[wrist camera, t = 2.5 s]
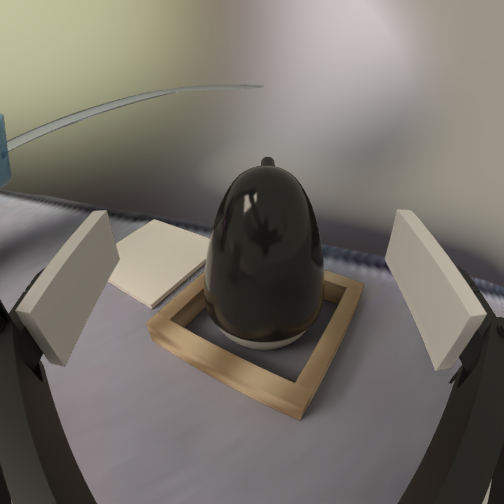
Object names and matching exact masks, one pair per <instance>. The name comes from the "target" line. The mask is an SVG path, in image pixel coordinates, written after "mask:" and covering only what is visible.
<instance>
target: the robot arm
mask: <svg viewBox="0 0 504 504" xmlns="http://www.w3.org/2000/svg"><path fill="white" fill-rule="evenodd" d="M10 179H11V170H10V163H9V156H8V149H7V141H6V132H5V123H4V116H3V115H2V114H0V188H2V187H4V186H6V185H7V184H8V183H9V181H10ZM119 260H120V257H119V254H118V250H117V247H116V244H115V240H114V236H113V233H112V229H111V225H110V221H109V218H108V214H107V210H103V211H93V212H92V213H91V214H90V215H89V216H88V217H87V218H86V220H85V221H84V222H83V223H82V224H81V225H80V226H79V228H78V229H77V230H76V231H75V232H74V233H73V235H72V236H71V237H70V238H69V239H68V241H67V242H66V243H65V244H64V245H63V247H62V248H61V249H60V250H59V252H58V253H57V254H56V255H55V257H54V258H53V259H52V260H51V262H50V263H49V264H48V265H47V267H45V268H44V269H43V270H41V271H40V272H39V273H38V274H37V275H36V276H35V277H34V279H33V280H32V281H31V283H30V285H28V287H27V288H26V290H25V292H23V294H22V295H21V297H20V298H19V299H18V301H17V302H16V304H15V305H14V307H13V308H12V310H11V311H10V313H9V314H8V312H7V310H6V309H5V307H4V305H3V304H2V302H1V300H0V504H11V499H12V502H13V504H97V503H96V501H95V499H94V497H93V496H92V494H91V492H90V490H89V488H88V486H87V484H86V482H85V480H84V478H83V476H82V473H81V471H80V469H79V467H78V465H77V463H76V460H75V458H74V456H73V453H72V451H71V448H70V446H69V444H68V441H67V438H66V436H65V433H64V431H63V428H62V425H61V422H60V419H59V416H58V414H57V411H56V407H55V404H54V401H53V398H52V395H51V391H50V388H49V384H48V380H47V377H46V373H45V369H44V366H43V364H42V362H41V361H40V359H41V357H42V355H43V354H44V355H45V357H46V358H47V359H48V361H49V362H50V363H52V364H56V365H60V366H66V364H67V362H68V359H69V357H70V355H71V353H72V350H73V348H74V346H75V344H76V342H77V340H78V338H79V336H80V334H81V331H82V329H83V327H84V325H85V323H86V321H87V319H88V317H89V315H90V313H91V311H92V309H93V308H94V306H95V304H96V302H97V300H98V298H99V296H100V294H101V292H102V291H103V289H104V287H105V285H106V283H107V281H108V280H109V278H110V276H111V274H112V272H113V271H114V269H115V267H116V265H117V264H118V262H119ZM385 261H386V263H387V265H388V267H389V269H390V271H391V273H392V275H393V277H394V279H395V281H396V283H397V285H398V287H399V289H400V291H401V293H402V295H403V297H404V299H405V301H406V303H407V305H408V307H409V310H410V312H411V314H412V316H413V318H414V321H415V323H416V325H417V327H418V330H419V332H420V334H421V337H422V339H423V341H424V344H425V346H426V349H427V351H428V353H429V356H430V358H431V361H432V364H433V366H434V369H435V371H438V370H443V369H448V368H452V367H453V365H454V364H455V362H456V361H457V360H458V358H460V360H461V362H462V366H461V367H460V368H459V370H458V371H457V372H456V374H455V375H454V376H453V377H452V379H451V380H450V382H449V383H451V384H452V382H453V381H454V380H455V382H454V385H453V388H452V391H451V394H450V397H449V400H448V402H447V405H446V408H445V410H444V413H443V415H442V418H441V420H440V423H439V425H438V427H437V430H436V432H435V434H434V436H433V439H432V441H431V443H430V445H429V447H428V449H427V451H426V454H425V456H424V458H423V460H422V462H421V464H420V465H419V467H418V469H417V471H416V473H415V475H414V477H413V478H412V480H411V482H410V484H409V486H408V487H407V489H406V491H405V492H404V494H403V496H402V497H401V499H400V501H399V502H398V504H482V502H483V500H484V498H485V495H486V492H487V490H488V487H489V485H490V482H491V479H492V483H491V488H490V494H489V499H488V503H487V504H504V318H502V317H496V316H495V314H494V312H493V311H492V309H491V308H490V306H489V304H488V303H487V301H486V300H485V298H484V297H483V295H482V294H481V293H480V292H479V289H478V288H477V286H475V283H474V282H473V281H472V279H471V278H470V276H469V275H468V274H467V273H466V272H465V271H463V270H462V269H461V268H459V267H455V265H454V264H453V262H452V261H451V260H450V258H449V257H448V256H447V254H446V253H445V251H444V250H443V249H442V248H441V246H440V245H439V244H438V242H437V241H436V240H435V238H434V237H433V236H432V235H431V233H430V232H429V231H428V230H427V229H426V227H425V226H424V225H423V223H422V222H421V221H420V220H419V219H418V217H417V216H416V215H415V214H414V213H413V212H412V210H399V209H397V212H396V217H395V221H394V225H393V230H392V234H391V238H390V242H389V245H388V250H387V253H386V257H385ZM10 497H11V498H10Z"/></svg>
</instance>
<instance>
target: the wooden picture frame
mask: <svg viewBox="0 0 504 504" xmlns="http://www.w3.org/2000/svg"><path fill="white" fill-rule="evenodd" d="M204 276H205V271H204V272H203V273H202V274H201V275H200V276H199V277H197V278H196V279H195V280H194V281H193V282H192V283H191V284H189V285H188V286H187V287H186V288H185V289H184V290H183V291H181V292H180V293H179V294H178V295H177V296H176V297H175V298H174V299H172V300H171V301H170V302H169V303H168V304H167V305H166V306H165V307H163V308H162V309H161V310H160V311H159V312H158V313H157V314H156V315H154V316H153V317H152V318H151V319H150V320H149V321H148V322H147V323H146V324H147V327H148V330H149V332H150V335H151V338H152V340H153V341H154V342H156V343H157V344H159V345H160V346H162V347H163V348H165V349H166V350H168V351H170V352H171V353H173V354H174V355H176V356H178V357H179V358H181V359H183V360H184V361H186V362H188V363H189V364H191V365H193V366H194V367H196V368H198V369H199V370H201V371H203V372H205V373H206V374H208V375H210V376H212V377H213V378H215V379H217V380H219V381H221V382H222V383H224V384H226V385H228V386H230V387H232V388H234V389H235V390H237V391H239V392H241V393H243V394H245V395H247V396H249V397H251V398H253V399H255V400H257V401H259V402H261V403H263V404H265V405H267V406H269V407H271V408H273V409H275V410H278V411H280V412H282V413H284V414H286V415H288V416H291V417H293V418H295V419H297V420H301V418H302V416H303V415H304V413H305V411H306V409H307V407H308V406H309V404H310V402H311V400H312V398H313V397H314V395H315V393H316V391H317V389H318V387H319V386H320V384H321V382H322V380H323V378H324V376H325V374H326V372H327V370H328V368H329V366H330V364H331V362H332V360H333V358H334V356H335V354H336V352H337V350H338V348H339V346H340V344H341V342H342V339H343V337H344V335H345V333H346V331H347V329H348V327H349V324H350V322H351V320H352V318H353V315H354V313H355V311H356V308H357V306H358V304H359V301H360V298H361V295H362V292H363V288H364V285H365V284H364V283H361V282H358V281H356V280H353V279H350V278H347V277H344V276H341V275H338V274H335V273H332V272H329V271H326V270H324V299H325V300H328V301H331V302H333V303H336V304H339V305H338V307H337V309H336V311H335V312H334V314H333V316H332V318H331V320H330V322H329V324H328V326H327V328H326V330H325V331H324V333H323V335H322V337H321V339H320V341H319V342H318V344H317V346H316V348H315V349H314V351H313V353H312V355H311V357H310V358H309V360H308V362H307V363H306V365H305V367H304V369H303V370H302V372H301V374H300V375H299V377H298V379H297V380H296V382H295V383H293V382H291V381H289V380H287V379H284V378H282V377H280V376H278V375H275V374H273V373H271V372H269V371H267V370H265V369H263V368H260V367H258V366H256V365H254V364H252V363H250V362H248V361H246V360H244V359H242V358H240V357H238V356H236V355H234V354H232V353H230V352H228V351H226V350H224V349H222V348H220V347H218V346H216V345H214V344H212V343H210V342H209V341H207V340H205V339H203V338H201V337H199V336H197V335H196V334H194V333H192V332H190V331H188V330H186V329H185V327H186V326H187V325H188V324H189V323H190V322H191V321H192V320H193V319H194V318H195V317H196V316H197V315H198V314H199V313H200V312H201V311H202V310H203V309H204V308H205V307H206V305H205V298H204Z"/></svg>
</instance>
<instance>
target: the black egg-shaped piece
mask: <svg viewBox="0 0 504 504" xmlns="http://www.w3.org/2000/svg"><path fill="white" fill-rule="evenodd" d="M204 298H205V305H206V309H207V312H208V314H209V316H210V318H211V319H212V320H213V322H214V323H215V324H216V325H217V326H218V327H219V328H220V330H221V331H222V332H223V333H224V334H225V335H226V336H227V337H228V338H229V339H231V340H232V341H234V342H235V343H237V344H239V345H242V346H244V347H247V348H251V349H256V350H271V349H277V348H281V347H284V346H286V345H288V344H290V343H292V342H294V341H295V340H297V339H298V338H299V337H301V336H302V335H303V334H304V333H305V332H306V331H307V329H308V328H309V327H310V326H311V325H312V324H313V323H314V322H315V321H316V319H317V318H318V316H319V314H320V312H321V309H322V304H323V299H324V262H323V253H322V246H321V240H320V235H319V229H318V225H317V221H316V217H315V214H314V211H313V208H312V205H311V203H310V200H309V198H308V196H307V194H306V192H305V190H304V189H303V187H302V186H301V184H300V183H299V181H298V180H297V179H296V178H295V177H294V176H293V175H292V174H291V173H289V172H287V171H286V170H283V169H281V168H279V167H275V164H274V160H273V159H272V158H271V157H265V158H263V159H262V161H261V166H257V167H253V168H251V169H248V170H246V171H245V172H243V173H241V174H240V175H239V176H238V177H237V178H236V179H235V180H234V181H233V183H232V184H231V185H230V187H229V188H228V190H227V192H226V194H225V196H224V198H223V199H222V201H221V204H220V206H219V209H218V211H217V214H216V217H215V220H214V224H213V228H212V232H211V236H210V241H209V246H208V251H207V257H206V264H205V276H204Z"/></svg>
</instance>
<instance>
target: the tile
mask: <svg viewBox="0 0 504 504" xmlns="http://www.w3.org/2000/svg"><path fill="white" fill-rule="evenodd" d="M209 241H210V238H207V237H204V236H201V235H198V234H195V233H192V232H189V231H187V230H184V229H181V228H178V227H175V226H172V225H169V224H166V223H164V222H161V221H158V220H155V219H154V220H152V221H151V222H149V223H147V224H146V225H144V226H143V227H141V228H139V229H138V230H136V231H135V232H133V233H131V234H130V235H128V236H127V237H125V238H124V239H122V240H121V241H119V242H118V243H116V247H117V250H118V254H119V257H120V260H119V262H118V264H117V265H116V267H115V269H114V271H113V272H112V274H111V276H110V278H109V280H108V282H109V283H111V284H113V285H114V286H116V287H117V288H119V289H120V290H122V291H124V292H125V293H127V294H128V295H130V296H131V297H133V298H135V299H136V300H138V301H140V302H141V303H143V304H145V305H146V306H148V307H150V308H151V309H153V308H154V307H155V306H156V305H157V304H159V303H160V302H161V301H162V300H163V299H164V298H165V297H167V296H168V295H169V294H170V293H171V292H172V291H174V290H175V289H176V288H177V287H178V286H179V285H181V284H182V283H183V282H184V281H185V280H186V279H188V278H189V277H190V276H191V275H192V274H193V273H195V272H196V271H197V270H198V269H199V268H200V267H202V266H203V265H204V264H205V263H206V257H207V251H208V246H209Z"/></svg>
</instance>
